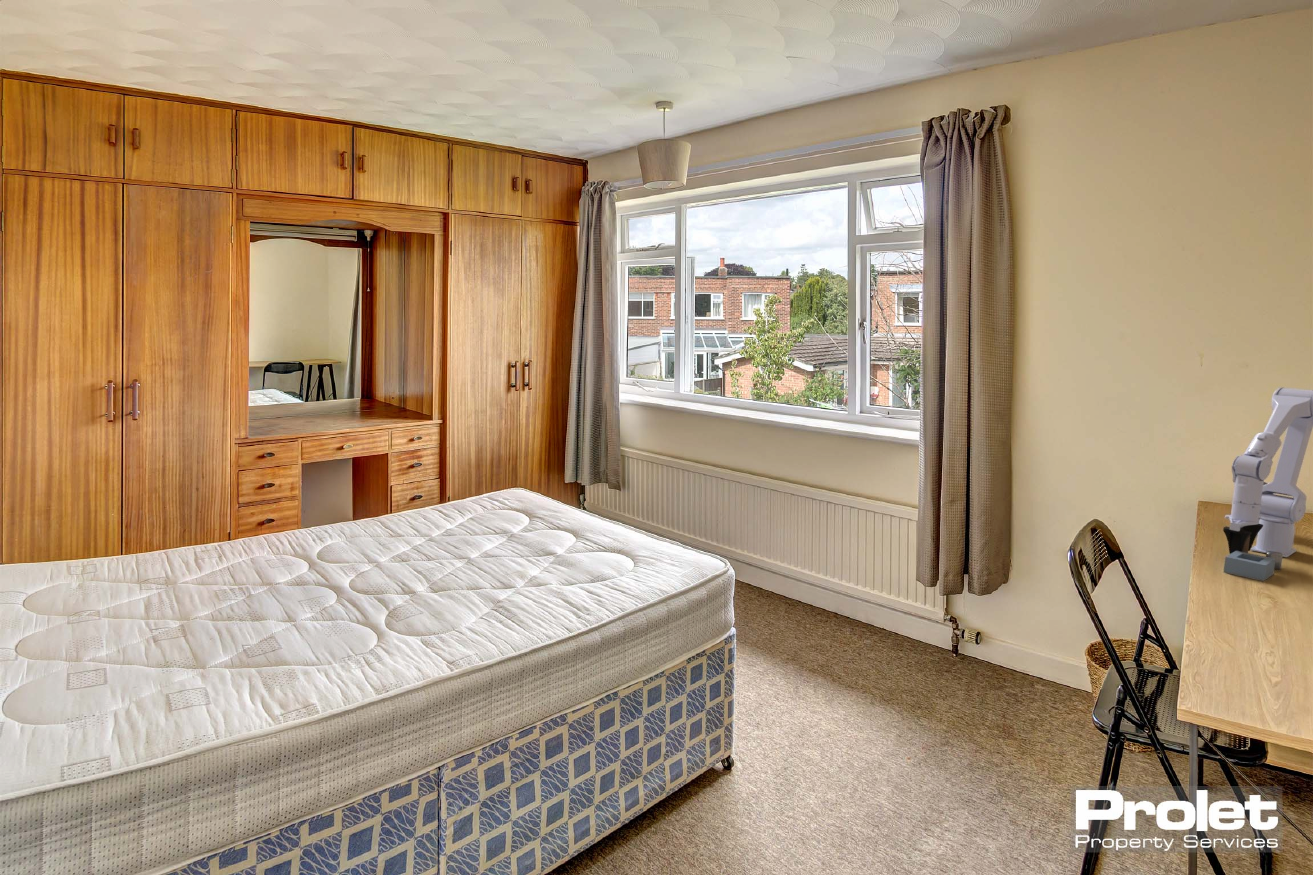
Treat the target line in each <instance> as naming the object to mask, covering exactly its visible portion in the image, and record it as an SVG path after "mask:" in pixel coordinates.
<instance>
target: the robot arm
mask: <svg viewBox="0 0 1313 875" xmlns="http://www.w3.org/2000/svg"><path fill="white" fill-rule="evenodd" d="M1271 409H1272V413H1271V415H1270V417H1269V419H1268V421H1267V422H1266V426H1265V428H1264V429H1263V432H1259V433H1258V432H1257V433H1256V434H1255V435H1254V437H1253V438H1252V439H1251V442H1250V444H1248V446H1247V448H1246V450H1245V451H1244V452H1243V454H1241V455H1238V456H1236V457H1235V458H1234V459H1233V461H1232V465H1231V473H1232V482H1233V483H1234V487H1233V495H1232V503H1231V511H1230V512H1231V513H1230V514H1225V516H1224V519H1227V520H1229V522H1230V524H1229V526H1226V525H1224V526H1223V528H1222V531H1223V533H1224V534H1225V536H1226V537H1225V538H1226V540H1227V545H1228V552H1229V554H1231V553H1233V552H1235V551H1240V552H1242V551H1243V548H1244V545H1245V542H1246V540H1247V539H1248V537H1249V536H1250V541H1249V548H1248V552H1250V551H1252V552H1258V553H1262V554H1266V552H1267V551H1275V552H1279V553H1282V554H1283V557H1282V558H1289V557H1290V556H1291V555H1293V554H1294V553H1296V552H1297V551H1298V549H1297V548H1294V547H1293V546H1294V540H1295V532H1296V526H1295V523H1297V522H1299V521H1301V520H1302V519H1303V517H1304V516H1305V513H1306V509H1307V508H1306V503H1307V495H1306V494H1305V493H1304V491H1303V490H1302V489H1300V488H1299V487H1298V486H1297V483H1298V479H1299V477H1300V476H1299V475H1300V472H1301V470H1302V465H1303V462H1304V459H1305V455H1306V451H1307V448H1308V444H1309V441H1310V437H1311V434H1312V430H1313V389H1302V388H1301V389H1300V388H1289V387H1288V388H1287V387H1286V388H1285V387H1282V386H1281V387H1278V388H1276V389H1275V390H1274V391H1273V393H1272V396H1271ZM1284 433H1285V436H1284V440H1283V442H1282V441H1281V437H1282V435H1283V434H1284ZM1281 446H1282V447H1281ZM1280 447H1281V450H1280V454H1279V458H1278V460H1277V464H1276V467H1275V471H1274V474H1273V479H1272V481H1271V482H1267V483H1268V484H1266V485H1263V483H1264V482H1265V480H1267V478H1268V477H1269V475H1270V473H1271V470H1272V466H1273V463H1274V462H1273V458H1274V457H1276V456H1275V455H1276V454H1277V452H1278V451H1279V449H1280ZM1259 518H1260V520H1259ZM1255 540H1256V542H1255ZM1254 542H1255V543H1256V545H1254ZM1253 545H1254V546H1253Z"/></svg>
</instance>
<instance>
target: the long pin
mask: <svg viewBox="0 0 1313 875" xmlns="http://www.w3.org/2000/svg"><path fill="white" fill-rule="evenodd" d="M1249 541H1250V536H1249V537H1248V539H1247V540H1246V542H1245V545H1244V548H1243V551H1242V552H1245V553H1249V551H1248V548H1249Z"/></svg>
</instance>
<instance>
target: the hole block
mask: <svg viewBox="0 0 1313 875" xmlns="http://www.w3.org/2000/svg"><path fill="white" fill-rule="evenodd" d="M1224 558H1225V559H1224V565H1223V573H1226V574H1229V575H1235V576H1238V577H1243V578H1248V579H1252V580H1257V581H1261V582H1265V581H1266V580H1267V579H1269V578H1270V577H1272V576H1273V575H1274V573H1275V570H1274V567H1275V558H1270V557H1266V555H1265V556H1264V555H1259V554H1254V553H1249V552H1248V553H1245V552H1240V551H1235V552H1233V553H1231V554H1230V553H1229V554H1228V555H1226V556H1225V557H1224Z"/></svg>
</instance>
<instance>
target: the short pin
mask: <svg viewBox="0 0 1313 875" xmlns="http://www.w3.org/2000/svg"><path fill="white" fill-rule="evenodd" d="M1265 557H1270V558H1275V567H1274V571H1282V570H1281V569H1282V563H1283V558H1284V557H1283V554H1282V553H1279V552H1275V551H1267V552H1266V553H1265Z"/></svg>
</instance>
